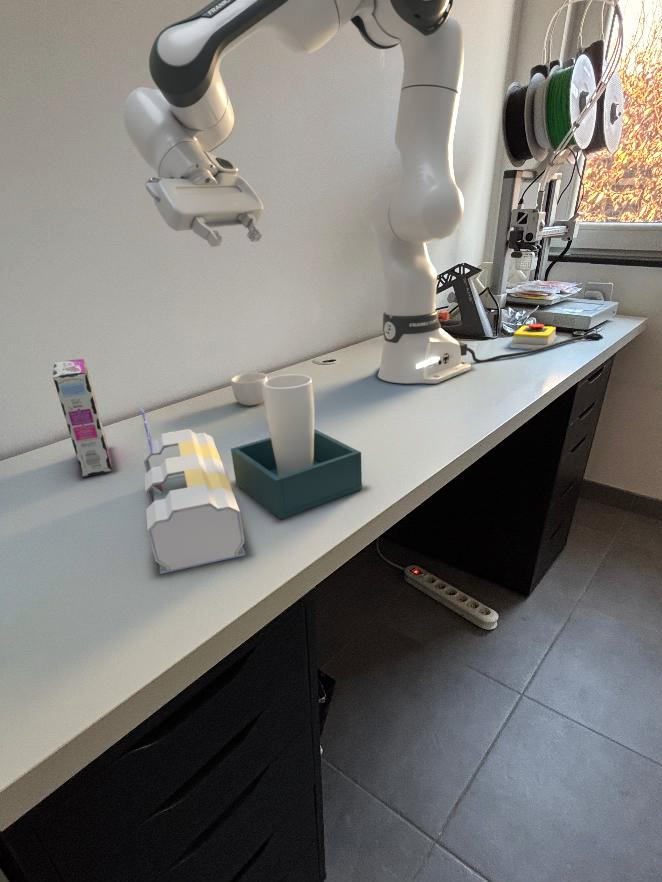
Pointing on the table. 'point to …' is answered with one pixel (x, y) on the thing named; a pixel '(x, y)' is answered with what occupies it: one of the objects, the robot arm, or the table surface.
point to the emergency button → (533, 336)
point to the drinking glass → (290, 420)
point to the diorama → (190, 503)
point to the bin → (297, 475)
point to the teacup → (248, 388)
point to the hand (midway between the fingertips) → (238, 241)
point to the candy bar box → (82, 416)
